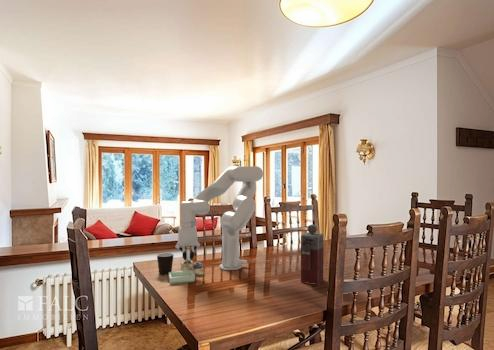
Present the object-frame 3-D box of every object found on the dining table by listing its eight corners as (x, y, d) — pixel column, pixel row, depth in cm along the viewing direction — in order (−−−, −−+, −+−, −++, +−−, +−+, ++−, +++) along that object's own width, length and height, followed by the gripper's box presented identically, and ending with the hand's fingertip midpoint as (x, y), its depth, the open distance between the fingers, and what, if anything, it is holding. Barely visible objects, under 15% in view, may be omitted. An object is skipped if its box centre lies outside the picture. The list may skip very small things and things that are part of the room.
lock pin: (191, 265, 179) (190, 245, 179) (191, 267, 176) (191, 246, 176) (184, 266, 178) (184, 245, 178) (185, 267, 175) (185, 247, 175)
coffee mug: (169, 276, 173) (169, 257, 173) (153, 275, 174) (154, 256, 174) (178, 270, 184) (178, 251, 184) (163, 269, 186) (163, 251, 186)
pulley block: (201, 270, 183) (201, 259, 183) (203, 274, 176) (203, 263, 176) (180, 272, 180) (180, 261, 180) (182, 276, 173) (182, 264, 173)
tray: (192, 276, 173) (192, 270, 173) (194, 281, 164) (195, 275, 164) (168, 278, 170) (168, 272, 170) (169, 284, 160) (169, 277, 160)
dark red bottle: (298, 283, 162) (299, 225, 162) (306, 277, 172) (306, 222, 172) (317, 286, 158) (317, 227, 158) (323, 280, 167) (323, 224, 167)
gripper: (201, 222, 183) (202, 256, 183) (171, 224, 178) (171, 258, 178) (204, 224, 176) (204, 259, 176) (172, 226, 171) (173, 262, 171)
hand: (188, 258), depth 177 cm, fingers closed on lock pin, 3 cm apart
